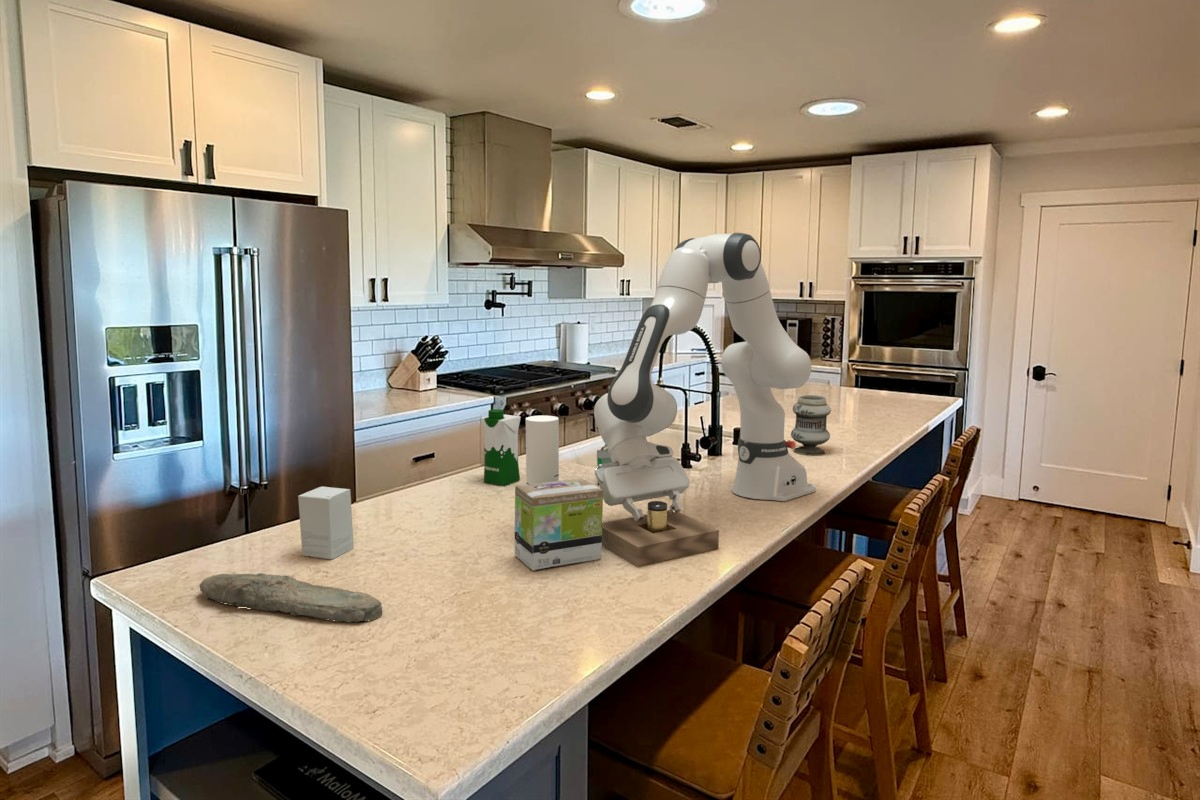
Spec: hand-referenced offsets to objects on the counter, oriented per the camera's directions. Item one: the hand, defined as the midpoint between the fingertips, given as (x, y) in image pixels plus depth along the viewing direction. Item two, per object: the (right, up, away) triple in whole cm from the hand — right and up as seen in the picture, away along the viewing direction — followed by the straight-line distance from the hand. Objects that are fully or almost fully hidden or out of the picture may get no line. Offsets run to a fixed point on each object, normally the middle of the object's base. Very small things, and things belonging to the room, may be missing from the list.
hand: (658, 515), depth 157 cm
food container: (-9, +1, +51) cm, 51 cm away
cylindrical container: (-25, -5, +11) cm, 28 cm away
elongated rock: (-65, -11, -28) cm, 72 cm away
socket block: (0, -6, +2) cm, 7 cm away
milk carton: (-39, +1, +50) cm, 64 cm away
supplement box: (-67, -7, -3) cm, 68 cm away
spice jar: (0, -6, +2) cm, 7 cm away
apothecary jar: (+55, +7, +87) cm, 103 cm away
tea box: (-21, -8, -6) cm, 23 cm away
